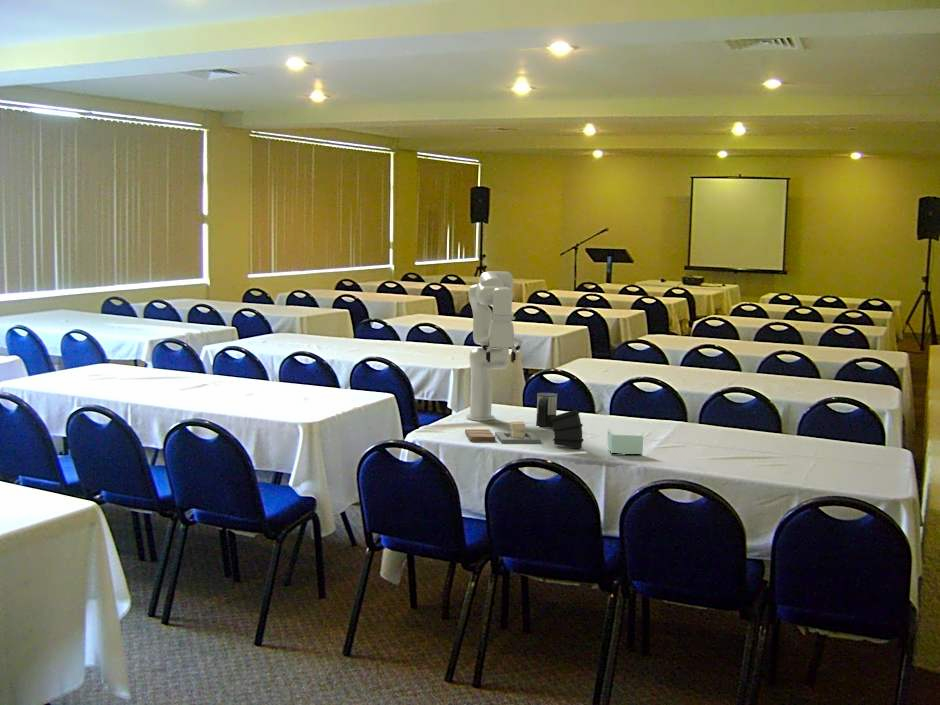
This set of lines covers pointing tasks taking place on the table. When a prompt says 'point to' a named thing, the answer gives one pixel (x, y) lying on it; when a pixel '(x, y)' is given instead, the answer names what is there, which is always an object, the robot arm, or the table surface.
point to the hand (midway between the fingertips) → (500, 362)
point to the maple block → (517, 429)
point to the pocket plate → (531, 438)
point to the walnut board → (480, 435)
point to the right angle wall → (625, 443)
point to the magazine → (568, 429)
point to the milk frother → (546, 409)
